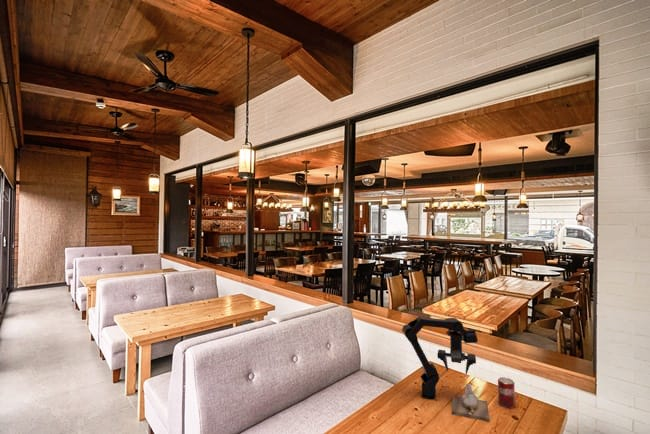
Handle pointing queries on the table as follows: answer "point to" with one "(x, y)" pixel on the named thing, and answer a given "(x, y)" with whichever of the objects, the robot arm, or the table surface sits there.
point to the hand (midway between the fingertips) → (456, 372)
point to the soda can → (506, 392)
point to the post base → (478, 413)
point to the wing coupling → (469, 399)
